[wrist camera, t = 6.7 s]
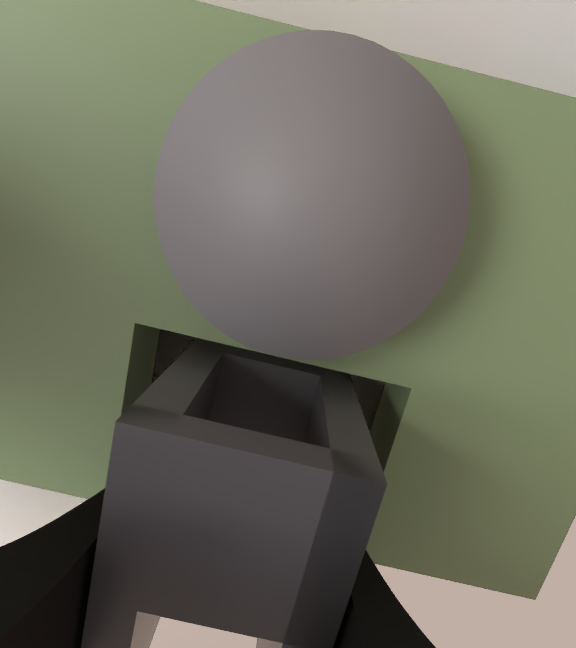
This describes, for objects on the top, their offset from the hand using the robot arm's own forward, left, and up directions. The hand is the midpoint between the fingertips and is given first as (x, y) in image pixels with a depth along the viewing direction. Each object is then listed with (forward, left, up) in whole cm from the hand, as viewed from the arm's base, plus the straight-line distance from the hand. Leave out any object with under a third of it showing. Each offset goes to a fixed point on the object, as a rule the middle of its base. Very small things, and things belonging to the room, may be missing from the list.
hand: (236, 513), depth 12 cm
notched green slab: (0, +6, -3) cm, 7 cm away
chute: (0, 0, -2) cm, 2 cm away
